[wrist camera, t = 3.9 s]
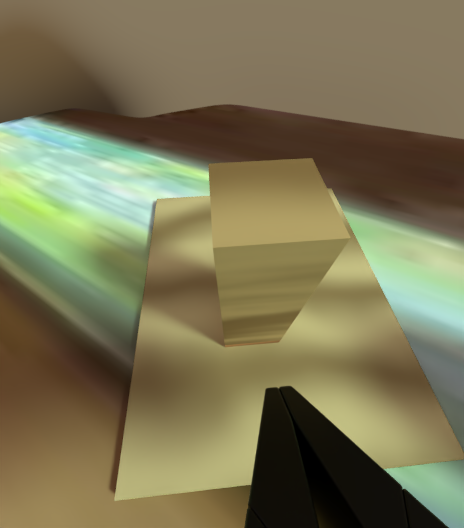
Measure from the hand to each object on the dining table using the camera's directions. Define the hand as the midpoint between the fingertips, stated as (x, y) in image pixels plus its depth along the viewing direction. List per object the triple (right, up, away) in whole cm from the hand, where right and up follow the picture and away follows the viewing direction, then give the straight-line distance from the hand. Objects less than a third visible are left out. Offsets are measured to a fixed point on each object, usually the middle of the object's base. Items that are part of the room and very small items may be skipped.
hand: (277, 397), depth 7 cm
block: (0, 0, +10) cm, 10 cm away
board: (+1, +2, +12) cm, 13 cm away
